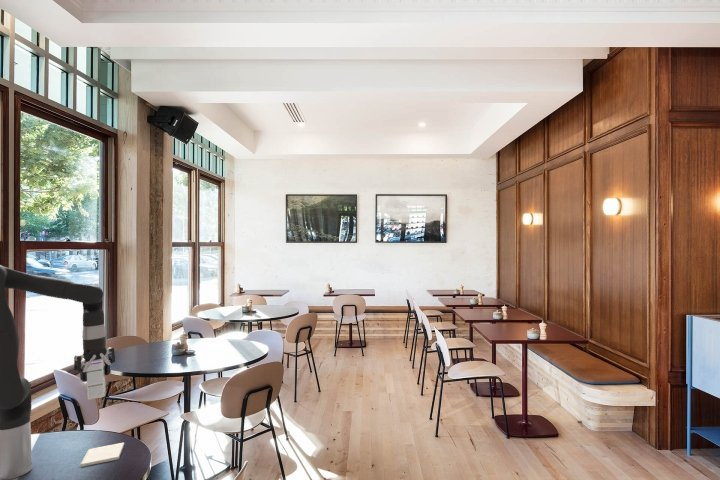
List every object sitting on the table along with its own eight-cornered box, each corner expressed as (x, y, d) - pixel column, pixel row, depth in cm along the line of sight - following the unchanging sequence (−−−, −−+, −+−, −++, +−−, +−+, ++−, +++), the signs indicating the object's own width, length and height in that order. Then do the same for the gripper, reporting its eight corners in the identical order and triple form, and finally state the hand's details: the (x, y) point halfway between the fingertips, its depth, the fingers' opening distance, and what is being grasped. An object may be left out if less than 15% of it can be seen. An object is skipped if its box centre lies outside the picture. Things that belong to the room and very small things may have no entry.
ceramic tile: (80, 467, 147) (80, 464, 147) (88, 451, 159) (88, 449, 159) (118, 459, 152) (118, 456, 152) (124, 444, 163) (124, 442, 163)
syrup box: (104, 396, 159) (103, 359, 159) (86, 400, 156) (85, 362, 156) (105, 392, 164) (104, 356, 164) (88, 395, 161) (86, 358, 161)
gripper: (80, 341, 152) (81, 385, 152) (118, 333, 164) (119, 373, 164) (69, 340, 155) (70, 382, 155) (107, 332, 168) (108, 371, 168)
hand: (95, 378), depth 160 cm, fingers closed on syrup box, 8 cm apart
